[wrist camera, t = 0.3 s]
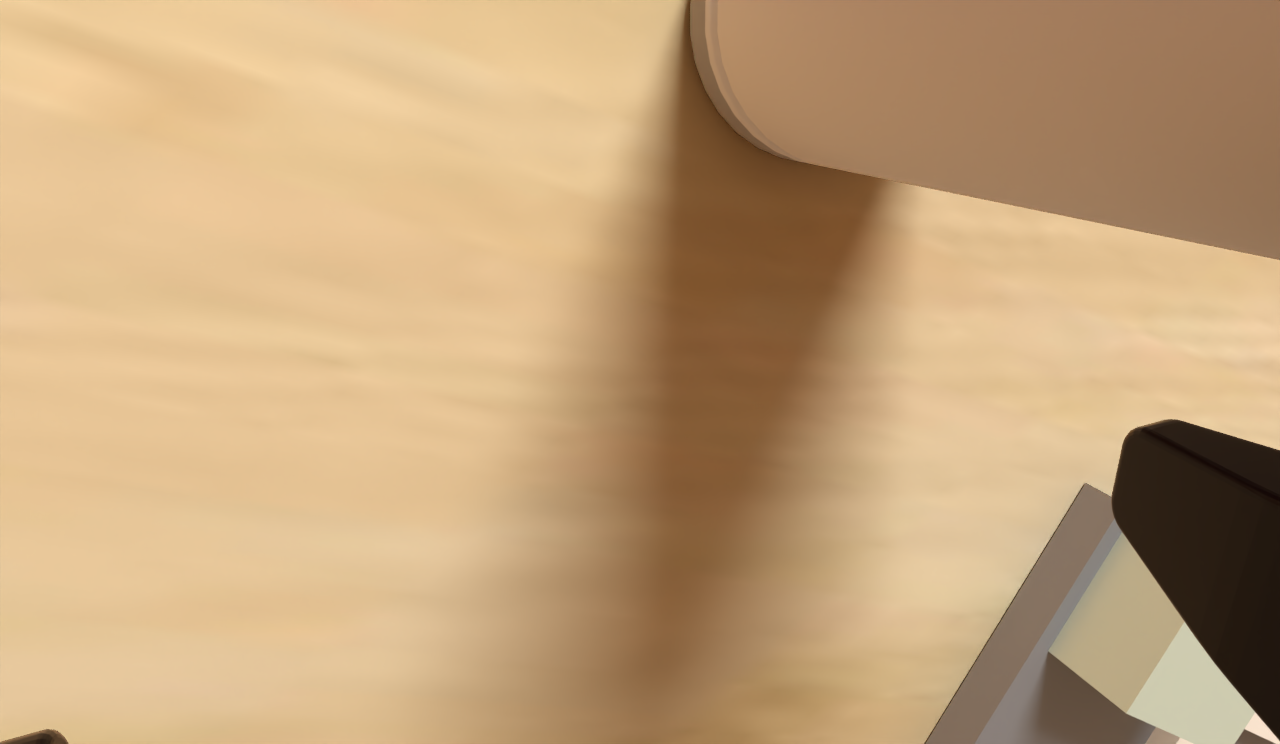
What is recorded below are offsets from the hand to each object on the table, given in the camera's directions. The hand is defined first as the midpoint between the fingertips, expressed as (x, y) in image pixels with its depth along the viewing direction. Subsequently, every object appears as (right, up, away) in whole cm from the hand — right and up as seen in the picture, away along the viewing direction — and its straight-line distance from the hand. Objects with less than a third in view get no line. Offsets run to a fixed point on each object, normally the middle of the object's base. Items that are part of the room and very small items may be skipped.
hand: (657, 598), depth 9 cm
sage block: (+14, -5, +21) cm, 25 cm away
